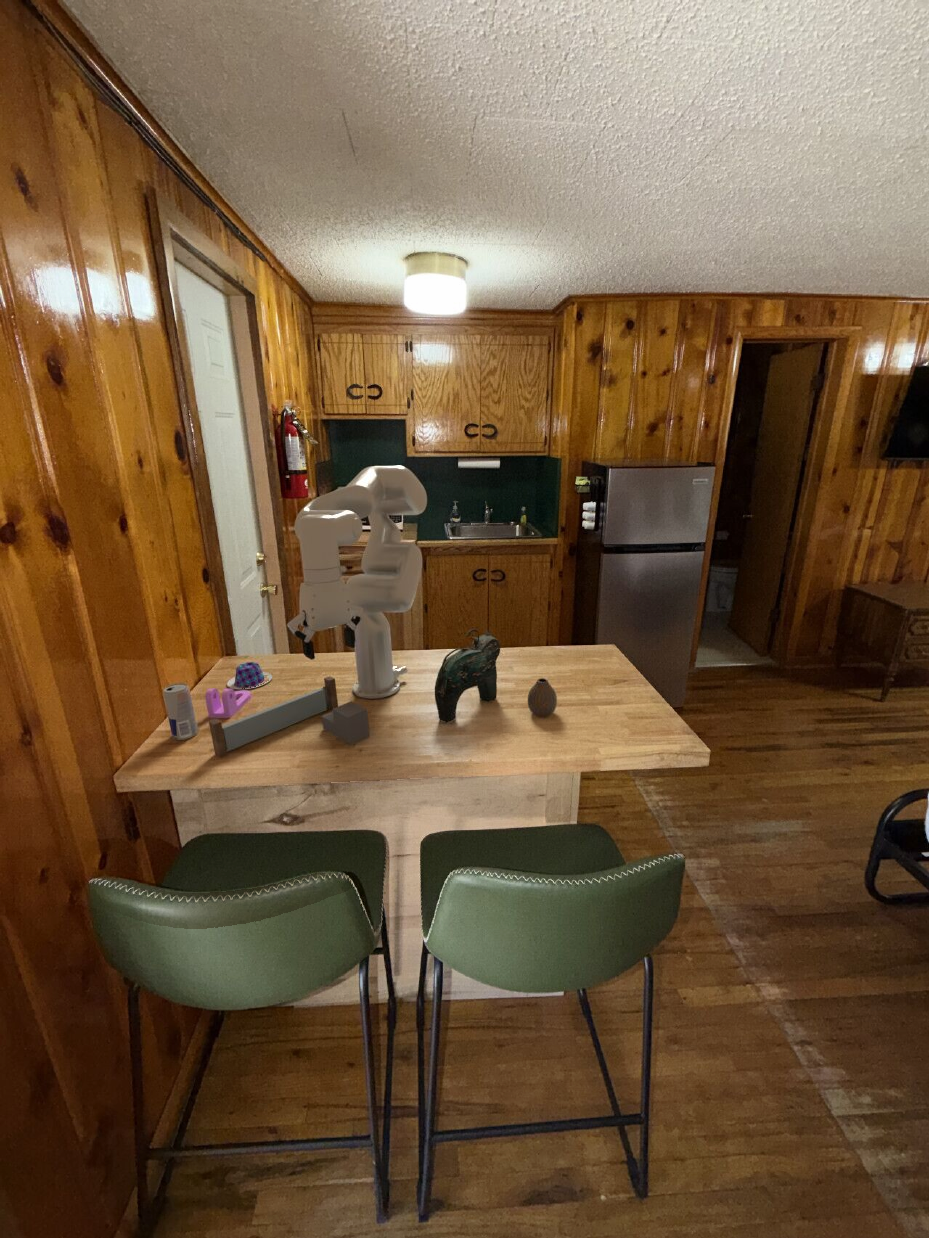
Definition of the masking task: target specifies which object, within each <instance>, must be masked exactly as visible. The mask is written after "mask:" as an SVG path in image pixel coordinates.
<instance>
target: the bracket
mask: <svg viewBox="0 0 929 1238" xmlns="http://www.w3.org/2000/svg"><path fill="white" fill-rule="evenodd" d="M204 699H205V702H206V708H207V709H206V710H207V713H208V714H207V715H208V718H209V719H232V718H233V717H234V716H235V715H236V714H237V713H238V712H239V711H240V710H241V709H242V708H243V707H244V706H245V705H246V704H248V702H249V701H250V700H251V699H252V693H251V691H249V690H248V689H240V690H236V691H235V689H233V688H224V689H223V691H222V693H221V696H220V692H219V690H218V688H208V689H207V690H206V692H205V696H204ZM244 704H245V705H244Z"/></svg>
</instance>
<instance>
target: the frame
mask: <svg viewBox="0 0 929 1238" xmlns="http://www.w3.org/2000/svg"><path fill="white" fill-rule="evenodd" d="M323 680H324V686H326V687H327V693H328V701H329V710H332V709H334V708H336V707H338V706H339V702H338V694H337V693H338V691H337V684H336V678H335V677H332V676H330V675H329V676H326V677H324V678H323ZM208 725H209V730H210V734H211V735H210V736H211V740H212V745H213V750H214V755H215V756H217V757H218V758H219V759H221V758H223V757H226V756H228V751H226V745H225V740H224V735H223V730H222V726H223V725H222V721H221V720H220V719H219V718H212V719H210V720H208Z"/></svg>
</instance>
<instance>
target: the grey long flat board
mask: <svg viewBox="0 0 929 1238" xmlns="http://www.w3.org/2000/svg"><path fill="white" fill-rule="evenodd" d="M329 710H330V708H329V701H328V693H327V687H326V686H325V685H324V686H322V687H321V688H317V689H315V690H313V691H310V692H308V693H304V694H302V695H300V696H297V697H294V698H292V699H289V700H287V701H284V702H282V703H279V704H276V705H273V706H272V707H269V708H266V709H263V710H261V711H259V712H256V713H253V714H250V715H247V716H245V717H243V718H240V719H237V720H234V721H231V722H230V723H227V724H225V725H222V730H223V735H224V740H225V745H226V751H227V752H230V751H232V750H235V749H237V748H240V747H242V746H244V745H246V744H250V743H252V742H254V741H256V740H259V739H261V738H263V737H266V736H269V735H270V734H272V733H275V732H277V731H280V730H282V729H284V728H287V727H289V726H292V725H294V724H296V723H299V722H302V721H303V720H306V719H308V718H310V717H313V716H316V715H318V714H320V713H322V712H324V711H329Z"/></svg>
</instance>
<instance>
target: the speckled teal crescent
mask: <svg viewBox="0 0 929 1238" xmlns="http://www.w3.org/2000/svg"><path fill="white" fill-rule="evenodd" d="M472 632H475V633H476V634H477V637H474V636H473V637H472V636H471V637H470V639H471V640H472V641H473V642H472V644H471V647H458V648H455V649H454V650H451V651H450V652H449V653H447V654H446V655H444V656H445V657H444V658H443V660H442V663H441V667H439V671H438V673H437V677H436V680H435V685H434V699H435V705H436V709H437V715H438V720H439V721H441V722H444V723H445V724H448V723H451V722H453V721H455V720H456V718H457V706H458V703H459V700H460V698H461V696H462V695H463V694H464V692H465V691H467V690H469V689H471V688H474V687H476V688H477V691H478V694H479V699H480V700H481V701H484V702H486V703H490V702H491V701H493V700H496V699H497V698H498V697H497V696H498V695H497V692H498V691H497V690H498V689H497V688H498V687H497V685H498V684H497V683H498V682H497V679H498V671H497V659H498V657H499V656H500V654H501V644H500V641H499V639H497V638H496V637H494V636H492V634H491V632H490V630H488V629H486V632H485V634H482V635H480V634H479V631H478V630H476V629H474V628H473V629H469V631H467V634H466V637H467V638H469V636H470V634H471V633H472ZM453 653H454V654H453Z"/></svg>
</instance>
